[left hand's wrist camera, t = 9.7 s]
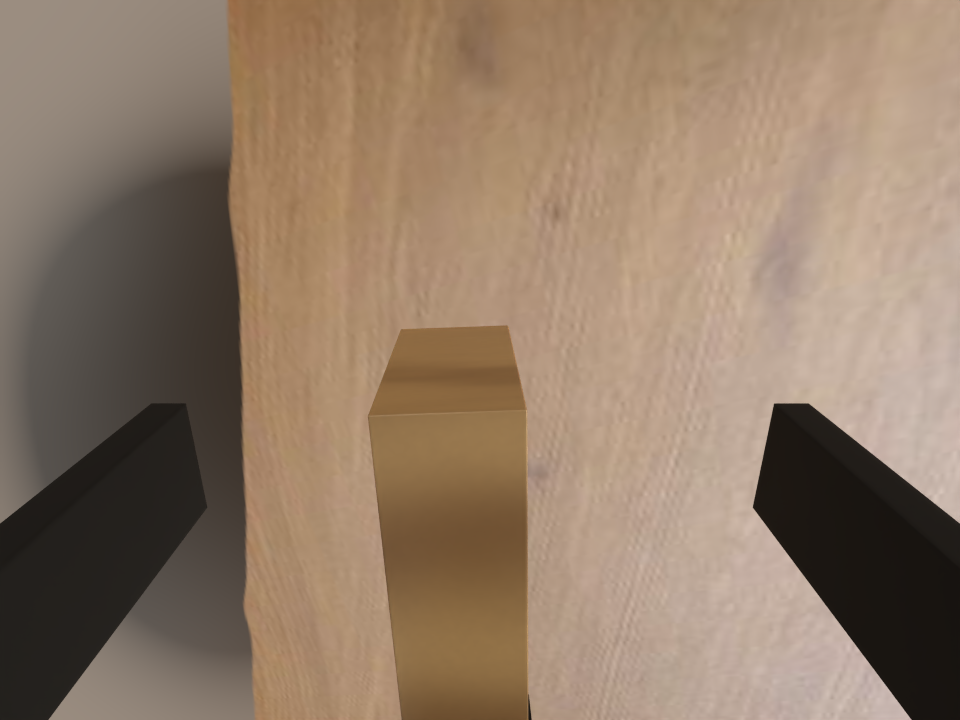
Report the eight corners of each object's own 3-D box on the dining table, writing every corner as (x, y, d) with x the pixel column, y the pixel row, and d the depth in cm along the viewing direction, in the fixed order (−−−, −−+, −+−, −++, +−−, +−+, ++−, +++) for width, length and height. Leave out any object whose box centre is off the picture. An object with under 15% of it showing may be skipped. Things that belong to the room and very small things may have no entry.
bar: (400, 329, 23) (367, 416, 16) (508, 325, 23) (527, 409, 16) (436, 753, 32) (426, 942, 25) (514, 749, 32) (529, 937, 25)
